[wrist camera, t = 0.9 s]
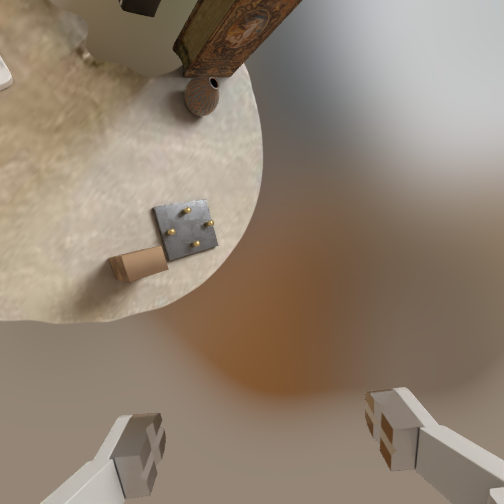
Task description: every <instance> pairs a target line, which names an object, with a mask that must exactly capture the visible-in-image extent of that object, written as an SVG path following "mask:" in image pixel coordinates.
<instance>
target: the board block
mask: <svg viewBox="0 0 504 504" xmlns="http://www.w3.org/2000/svg"><path fill="white" fill-rule="evenodd" d="M109 260H110V263H111V266H112V269H113V272H114V275H115V278H116V279H117V280H122V281H126V282H132V281H135V280H138V279H141V278H144V277H147V276H150V275H153V274H156V273H159V272H162V271H165V270H168V266H167V263H166V259H165V256H164V253H163V249H162V246H158V247H153V248H147V249H142V250H138V251H134V252H131V253H127V254H123V255H119V256H115V257H111V258H109Z"/></svg>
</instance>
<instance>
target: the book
mask: <svg viewBox="0 0 504 504" xmlns="http://www.w3.org/2000/svg"><path fill="white" fill-rule="evenodd" d="M301 1H302V0H198V2H197V3H196V5H195V7H194V9H193V11H192V12H191V14H190V16H189V18H188V20H187V21H186V23H185V25H184V27H183V29H182V30H181V32H180V34H179V36H178V38H177V39H176V41H175V43H174V45H173V51H174V52H175V53H176V54H177V55H178V56H179V58H180V59H181V61H182V64H183V67H184V73H183V75H184V77H197V76H207V77H231V76H232V75H233V73H234V72H235V71H236V70H237V69H238V68H239V67H240V66H241V65H242V64H243V63H244V62H245V61H246V60H247V59H248V58H249V56H250V55H251V54H252V53H253V52H254V51H255V50H256V49H257V48H258V47H259V46H260V45H261V43H263V42H264V40H265V39H266V38H267V37H268V36H269V35H270V34H271V33H272V32H273V31H274V30H275V29H276V28H277V27H278V26H279V25H280V24H281V23H282V21H283V20H284V19H285V18H286V17H287V16H288V15H289V14H290V13H291V12H292V11H293V10H294V9H295V8H296V7H297V5H298V4H299V3H300V2H301Z"/></svg>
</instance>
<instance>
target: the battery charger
mask: <svg viewBox="0 0 504 504" xmlns="http://www.w3.org/2000/svg"><path fill="white" fill-rule="evenodd" d="M160 1H161V0H119V3H120V6H121V7H122V9H123V10H124V11H127V12H131V13H135V14H140V15H144V16H150V17H154V16H155V13H156V11H157V8H158V6H159V4H160Z"/></svg>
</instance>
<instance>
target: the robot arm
mask: <svg viewBox="0 0 504 504" xmlns="http://www.w3.org/2000/svg"><path fill="white" fill-rule="evenodd" d="M12 83H13V78H12V76H11V73H10V71H9V70H8V68H7V66H6V64H5V63H4V61H3V59H2V58H1V56H0V90H3V89H5V88H7V87H9V86H10V85H11V84H12ZM365 400H366V402H367V403H368V406H367V407H366V408H365V418H366V422H367V426H368V428H369V431H370V433H371V435H372V437H373V438H374V439H375V440H376V441H378V442H379V443H380V452H381V454H382V456H383V457H384V459H385V461H386V463H387V465H388V467H389V469H390V471H401V470H415V469H416V471H417V473H418V474H420V475H421V476H422V477H423V478H424V479H425V480H426V481H427V482H428V483H430V484H431V485H432V486H433V487H434V488H435V489H436V490H438V491H439V492H440V493H441V494H442V495H443V496H444V497H445V498H446V499H447V500H449V501H450V502H451V503H452V504H504V461H503V460H501V459H500V458H498V457H497V456H495V455H493V454H491V453H490V452H488V451H486V450H485V449H483V448H481V447H479V446H478V445H476V444H474V443H473V442H471V441H469V440H468V439H466V438H464V437H462V436H461V435H459V434H457V433H456V432H454V431H452V430H450V429H449V428H447V427H445V426H443V425H442V426H439V425H438V424H437V422H436V421H435V420H434V419H433V418H432V417H431V415H430V414H429V413H428V412H427V411H426V410H425V409H424V407H423V406H422V405H421V404H420V403H419V401H418V400H417V399H416V398H415V397H414V395H413V394H412V393H411V392H410V391H409V390H408V389H407V388H405V387H403V388H394V389H384V390H376V391H367V392H366V394H365ZM161 422H162V417H161V414H160V413H147V414H134V415H123V416H120V417H119V418H118V419H117V420H116V421H115V423H114V425H113V427H112V428H111V430H110V432H109V434H108V435H107V437H106V439H105V441H104V442H103V444H102V446H101V447H100V449H99V451H98V453H97V454H96V456H95V458H94V460H93V461H88V462H87V463H86V464H85V465H84V466H83V467H82V468H80V469H79V470H78V471H77V472H76V473H75V474H74V475H72V476H71V477H70V478H69V479H68V480H67V481H65V482H64V483H63V484H62V485H61V486H60V487H59V488H58V489H56V490H55V491H54V492H53V493H52V494H51V495H50V496H48V497H47V498H46V499H45V500H44V501H43V502H41V503H40V504H123V503H124V502H125V499H130V498H138V497H145V496H150V494H151V492H152V489H153V485H154V482H155V479H156V476H157V470H156V465H157V464H158V463H159V462H160V461H161V460H162V457H163V454H164V450H165V442H166V437H165V436H166V435H165V430H164V428H162V427H161V426H160V425H161Z"/></svg>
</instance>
